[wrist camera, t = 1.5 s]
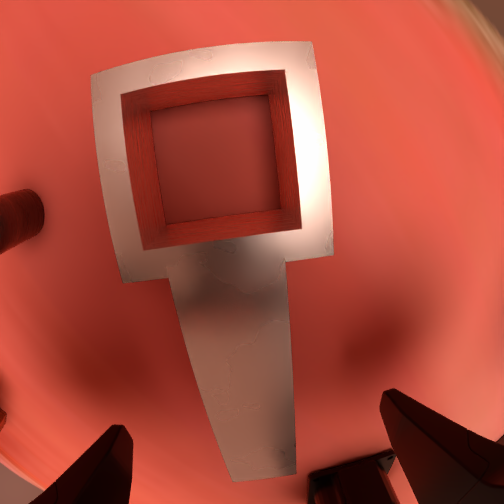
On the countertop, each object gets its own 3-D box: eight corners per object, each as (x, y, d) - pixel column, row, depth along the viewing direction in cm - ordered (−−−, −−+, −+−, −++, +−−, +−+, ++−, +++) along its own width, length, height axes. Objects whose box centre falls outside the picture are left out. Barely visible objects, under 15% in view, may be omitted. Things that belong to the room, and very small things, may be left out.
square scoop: (310, 425, 14) (323, 468, 11) (206, 439, 14) (205, 483, 11) (288, 72, 9) (311, 41, 6) (126, 95, 8) (90, 75, 6)
